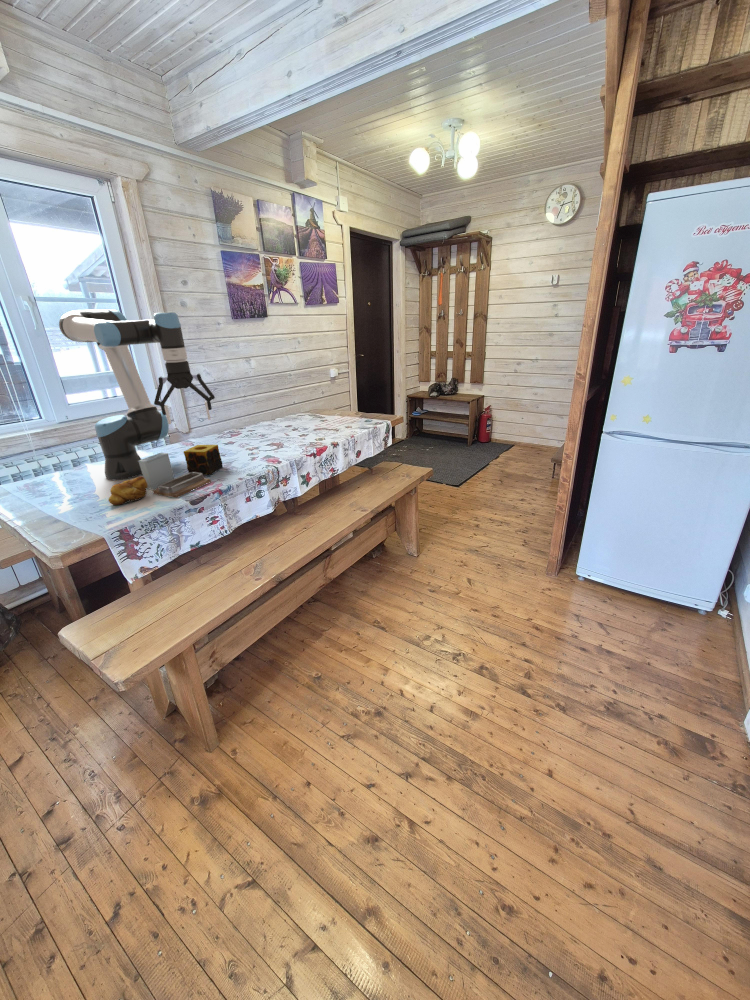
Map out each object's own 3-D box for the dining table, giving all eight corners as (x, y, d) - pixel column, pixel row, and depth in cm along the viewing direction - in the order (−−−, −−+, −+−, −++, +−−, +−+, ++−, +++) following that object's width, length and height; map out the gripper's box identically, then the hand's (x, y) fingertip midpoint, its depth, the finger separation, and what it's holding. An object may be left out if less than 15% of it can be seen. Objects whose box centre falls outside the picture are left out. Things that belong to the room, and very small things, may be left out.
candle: (210, 475, 166) (205, 451, 162) (188, 475, 168) (182, 451, 164) (223, 467, 175) (218, 444, 171) (202, 467, 177) (197, 444, 173)
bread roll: (115, 509, 140) (108, 487, 137) (104, 503, 146) (96, 482, 143) (153, 496, 149) (147, 475, 146) (141, 491, 155) (135, 470, 152)
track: (153, 493, 151) (151, 485, 150) (188, 478, 164) (186, 470, 163) (176, 497, 146) (174, 489, 145) (211, 481, 159) (209, 474, 158)
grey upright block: (146, 488, 157) (138, 460, 153) (168, 479, 165) (161, 452, 161) (153, 489, 155) (145, 461, 151) (175, 480, 164) (168, 453, 159)
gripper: (135, 365, 138) (151, 427, 147) (214, 359, 146) (225, 419, 155) (137, 362, 144) (153, 423, 153) (213, 357, 152) (224, 415, 161)
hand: (190, 421), depth 154 cm, fingers open, 13 cm apart
